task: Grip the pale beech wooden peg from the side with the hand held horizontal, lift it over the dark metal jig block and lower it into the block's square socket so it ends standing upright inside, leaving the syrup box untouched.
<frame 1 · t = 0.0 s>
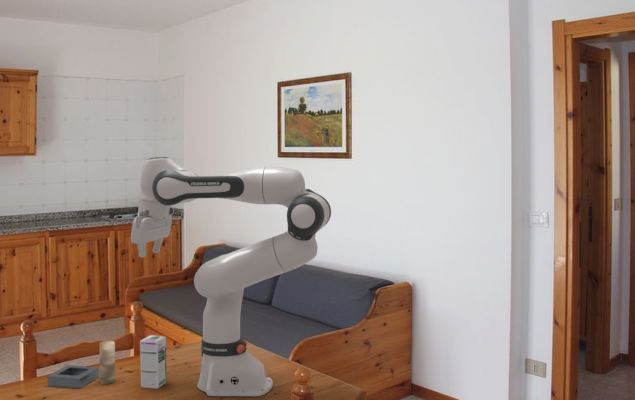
hand: (149, 254, 191), 39 cm above the table, tool pointing down, fingers open, 8 cm apart
peg: (107, 381, 192), on the table
syrup box: (153, 385, 189), on the table
jig: (73, 381, 191), on the table
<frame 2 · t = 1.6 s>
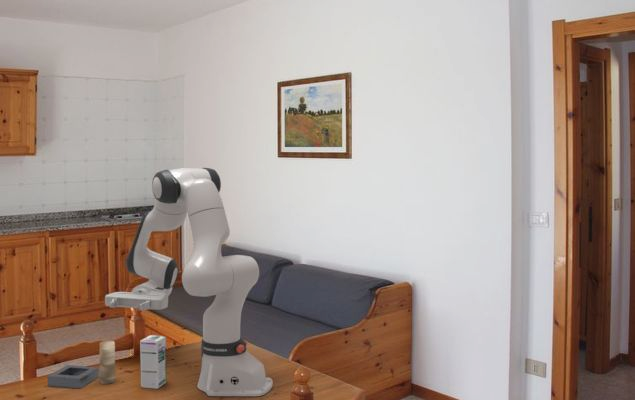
hand: (125, 306, 202), 21 cm above the table, tool horizontal, fingers open, 8 cm apart
nothing on the table moved.
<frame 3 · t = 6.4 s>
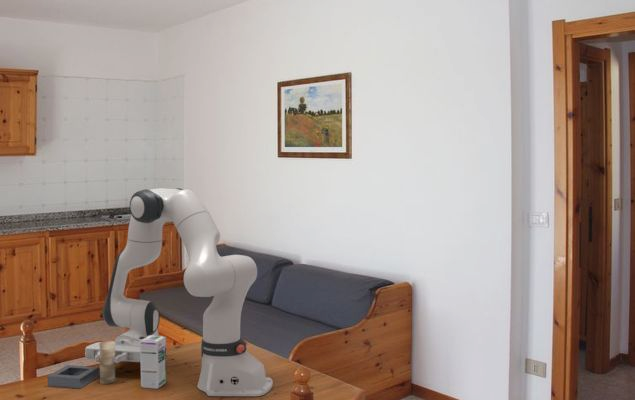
hand: (105, 359, 190), 7 cm above the table, tool horizontal, fingers closed on peg, 4 cm apart
peg: (107, 381, 192), on the table, touching gripper
everything else where it was.
when the fingers open (8 cm above the table, at t = 12.7 s): peg stays where it is, resting in jig.
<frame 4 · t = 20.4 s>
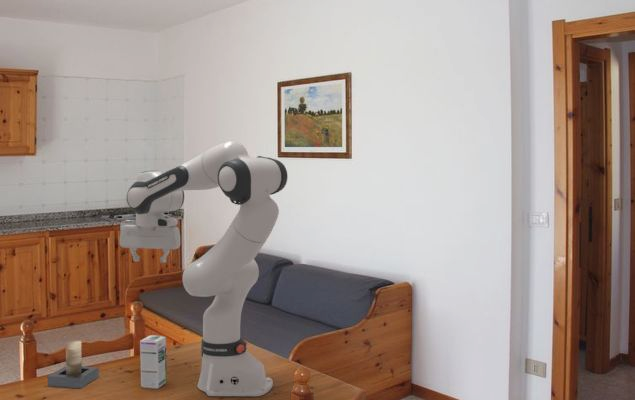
hand: (149, 261, 208), 34 cm above the table, tool pointing down, fingers open, 8 cm apart
peg: (74, 381, 191), resting in jig
everything else where it was.
at the end: peg 0.1 cm off-centre on the jig, point 0.0 cm above the jig's base; peg tilted 0°; the gripper is holding nothing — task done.
